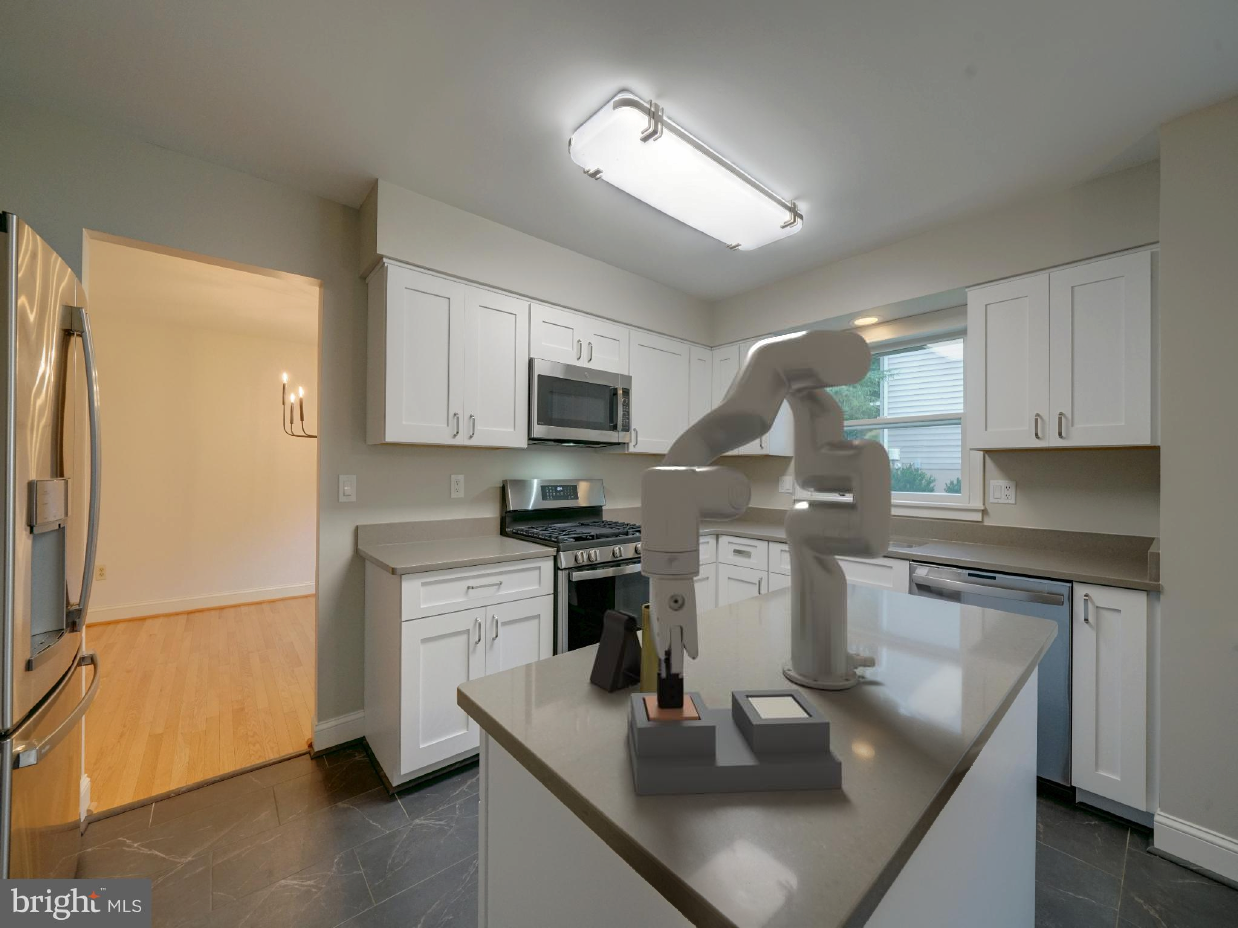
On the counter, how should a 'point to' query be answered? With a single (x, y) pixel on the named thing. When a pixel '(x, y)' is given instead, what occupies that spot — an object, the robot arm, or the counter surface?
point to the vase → (648, 656)
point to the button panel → (732, 748)
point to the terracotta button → (670, 711)
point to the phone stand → (617, 653)
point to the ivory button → (777, 707)
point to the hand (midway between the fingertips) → (670, 705)
